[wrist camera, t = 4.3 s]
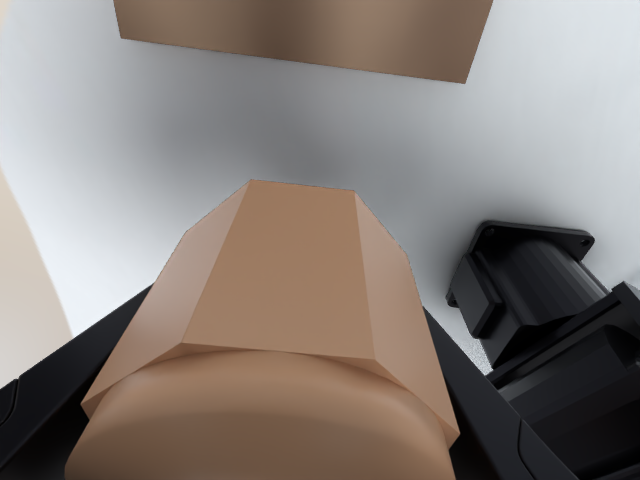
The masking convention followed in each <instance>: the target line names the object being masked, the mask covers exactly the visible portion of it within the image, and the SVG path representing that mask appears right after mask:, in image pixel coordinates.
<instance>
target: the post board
mask: <svg viewBox="0 0 640 480" xmlns="http://www.w3.org/2000/svg"><path fill="white" fill-rule="evenodd" d="M113 1H114V6H115V11H116V16H117V21H118V26H119V32H120V37H121V38H122V39H130V40H137V41H145V42H152V43H160V44H167V45H175V46H183V47H190V48H198V49H205V50H213V51H220V52H228V53H235V54H243V55H251V56H258V57H266V58H273V59H281V60H288V61H296V62H304V63H311V64H319V65H326V66H334V67H341V68H349V69H356V70H364V71H372V72H379V73H387V74H394V75H402V76H409V77H417V78H424V79H432V80H440V81H447V82H455V83H462V84H465V83H466V80H467V77H468V74H469V71H470V68H471V65H472V62H473V59H474V56H475V53H476V50H477V47H478V44H479V41H480V38H481V35H482V32H483V29H484V26H485V23H486V21H487V18H488V15H489V12H490V9H491V6H492V3H493V0H113Z"/></svg>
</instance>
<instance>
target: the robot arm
mask: <svg viewBox="0 0 640 480" xmlns="http://www.w3.org/2000/svg"><path fill="white" fill-rule="evenodd" d="M488 229H491V230H490V231H489V232H486V231H487V230H488ZM583 240H584V241H583ZM582 241H583V242H582ZM594 242H595V239H594V237H593V236H592V235H590V234H589V233H588V232H583V231H574V230H565V229H557V228H548V227H539V226H530V225H521V224H512V223H504V222H495V221H487V222H484V223H482V224H481V225H480V226H479V228H478V230H477V232H476V234H475V236H474V239H473V241H472V243H471V245H470V247H469V249H468V251H467V253H466V254H465V255H464V256H463V258H462V260H461V262H460V264H459V267H458V269H457V271H456V273H455V275H454V277H453V280H452V282H451V284H450V286H451V288H450V290H449V292H448V294H447V296H446V300H447V303H448V305H449V306H450V307H456V308H460V311H461V313H462V316H463V318H464V320H465V323H466V325H467V328H468V330H469V332H470V334H471V336H472V337H473V338H474V339H479V340H480V342H481V344H482V347H483V349H484V351H485V354H486V356H487V358H488V360H489V363H490V365H491V367H492V369H494V370H493V371H491V372H490V373H488V374H487V375H485V376H484V375H483V373H482V372H481V371H480V370H479V369H478V368H477V367H476V366H475V364H474V363H473V362H472V361H471V360H470V359H469V358H468V356H467V355H466V354H465V353H464V352H463V351H462V350H461V349H460V347H459V346H458V345H457V344H456V343H455V342H454V341H453V339H452V338H451V337H450V336H449V335H448V334H447V333H446V332H445V330H444V329H443V328H442V327H441V326H440V325H439V324H438V323H437V321H436V320H435V319H434V318H433V317H432V316H431V315H430V313H429V312H428V311H427V310H426V309H425V308H424V307H423V306H422V307H423V310H424V314H425V317H426V320H427V324H428V327H429V331H430V334H431V337H432V341H433V344H434V347H435V351H436V354H437V357H438V361H439V364H440V367H441V371H442V374H443V378H444V381H445V384H446V388H447V391H448V394H449V398H450V401H451V404H452V408H453V411H454V415H455V418H456V421H457V425H458V428H459V431H460V435H459V436H458V438H457V439H456V440H455V442H454V443H453V444H452V446H451V447H450V448H449V450H448V451H449V455H450V459H451V463H452V467H453V471H454V474H455V478H456V480H640V290H638V289H636V288H635V287H633V286H632V285H630V284H628V283H627V282H625V281H623V282H621V283H620V284H618V285H617V286H615V287H614V288H612V292H611V293H610V292H609V291H608V290H607V289H606V288H605V287H604V286H603V285H602V284H601V282H600V281H599V280H598V279H597V278H596V277H595V276H594V275H593V274H592V273H591V272H590V271H589V270H588V269H587V268H586V267H585V266H584V264H583V263H582V262H581V260H582V259H583V258H584V256H585V255H586V254H587V252H588V251H589V249H590V248H591V247H592V245H593V244H594ZM154 283H155V282H154ZM154 283H153V284H154ZM153 284H152V285H150V286H149V287H147V288H146V289H144V290H143V291H141V292H140V293H139V294H137V295H136V296H134V297H133V298H131V299H130V300H128V301H127V302H126V303H124V304H123V305H121V306H120V307H118V308H117V309H115V310H114V311H113V312H111V313H110V314H108V315H107V316H105V317H104V318H102V319H101V320H100V321H98V322H97V323H95V324H94V325H92V326H91V327H89V328H88V329H87V330H85V331H84V332H82V333H81V334H79V335H78V336H76V337H75V338H74V339H72V340H71V341H69V342H68V343H66V344H65V345H63V346H62V347H61V348H59V349H58V350H56V351H55V352H53V353H52V354H50V355H49V356H48V357H46V358H45V359H43V360H42V361H40V362H39V363H37V364H36V365H34V366H33V367H32V368H30V369H29V370H27V371H26V372H24V373H23V374H21V375H20V376H19V378H18V379H14V380H13V381H11V382H10V383H8V384H7V385H6V386H4V387H3V388H1V389H0V480H65V477H64V474H65V465H66V463H67V461H68V458H69V456H70V454H71V453H72V451H73V449H74V447H75V446H76V444H77V442H78V440H79V439H80V437H81V435H82V433H83V431H84V430H85V428H86V426H87V424H88V423H89V421H90V420H89V418H88V416H87V415H86V413H85V411H84V410H83V408H82V406H81V405H80V404H81V402H82V401H83V399H84V397H85V396H86V394H87V392H88V391H89V389H90V387H91V386H92V384H93V383H94V381H95V379H96V378H97V376H98V374H99V373H100V371H101V369H102V368H103V366H104V365H105V363H106V361H107V360H108V358H109V356H110V355H111V353H112V351H113V350H114V348H115V347H116V345H117V343H118V342H119V340H120V338H121V337H122V335H123V333H124V332H125V330H126V329H127V327H128V325H129V324H130V322H131V320H132V319H133V317H134V315H135V314H136V312H137V311H138V309H139V307H140V306H141V304H142V302H143V301H144V299H145V297H146V296H147V294H148V293H149V291H150V289H151V288H152V286H153ZM454 299H456V300H454Z"/></svg>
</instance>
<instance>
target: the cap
mask: <svg viewBox="0 0 640 480" xmlns="http://www.w3.org/2000/svg"><path fill="white" fill-rule="evenodd" d="M80 405H81V406H82V408H83V410H84V411H85V413H86V415H87V416H88V418H89V420H90V421H89V423H88V424H87V426H86V428H85V430H84V431H83V433H82V435H81V437H80V439H79V440H78V442H77V444H76V446H75V447H74V449H73V451H72V453H71V454H70V456H69V458H68V461H67V463H66V465H65V474H64V477H65V480H456V478H455V474H454V471H453V467H452V463H451V459H450V455H449V451H448V450H449V448H450V447H451V446H452V444H453V443H454V442H455V440H456V439H457V438H458V436H459V435H460V431H459V428H458V425H457V421H456V418H455V415H454V411H453V408H452V404H451V401H450V398H449V394H448V391H447V388H446V384H445V381H444V378H443V374H442V371H441V367H440V364H439V361H438V357H437V354H436V351H435V347H434V344H433V341H432V337H431V334H430V331H429V327H428V324H427V320H426V317H425V314H424V310H423V307H422V304H421V300H420V297H419V294H418V290H417V287H416V283H415V280H414V277H413V273H412V270H411V267H410V263H409V260H408V257H407V254H406V253H405V252H404V251H403V249H402V248H401V247H400V246H399V245H398V243H397V242H396V241H395V240H394V239H393V237H392V236H391V235H390V234H389V232H388V231H387V230H386V229H385V228H384V226H383V225H382V224H381V223H380V222H379V220H378V219H377V218H376V217H375V215H374V214H373V213H372V212H371V211H370V209H369V208H368V207H367V206H366V205H365V203H364V202H363V201H362V200H361V199H360V197H359V196H358V195H357V194H356V192H355V191H352V190H343V189H334V188H325V187H315V186H306V185H297V184H288V183H279V182H270V181H260V180H250V181H248V182H247V183H246V184H245V185H244V186H242V187H241V188H240V189H239V190H237V191H236V192H235V193H234V194H232V195H231V196H230V197H229V198H227V199H226V200H225V201H224V202H222V203H221V204H220V205H219V206H217V207H216V208H215V209H214V210H213V211H211V212H210V213H209V214H208V215H206V216H205V217H204V218H203V219H201V220H200V221H199V222H198V223H196V224H195V225H194V226H193V227H191V228H190V229H189V230H188V231H186V232H185V234H184V235H183V237H182V239H181V240H180V242H179V244H178V245H177V247H176V248H175V250H174V252H173V253H172V255H171V257H170V258H169V260H168V262H167V263H166V265H165V266H164V268H163V270H162V271H161V273H160V275H159V276H158V278H157V280H156V281H155V283H154V284H153V286H152V288H151V289H150V291H149V293H148V294H147V296H146V297H145V299H144V301H143V302H142V304H141V306H140V307H139V309H138V311H137V312H136V314H135V315H134V317H133V319H132V320H131V322H130V324H129V325H128V327H127V329H126V330H125V332H124V333H123V335H122V337H121V338H120V340H119V342H118V343H117V345H116V347H115V348H114V350H113V351H112V353H111V355H110V356H109V358H108V360H107V361H106V363H105V365H104V366H103V368H102V369H101V371H100V373H99V374H98V376H97V378H96V379H95V381H94V383H93V384H92V386H91V387H90V389H89V391H88V392H87V394H86V396H85V397H84V399H83V401H82V402H81V404H80Z"/></svg>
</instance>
